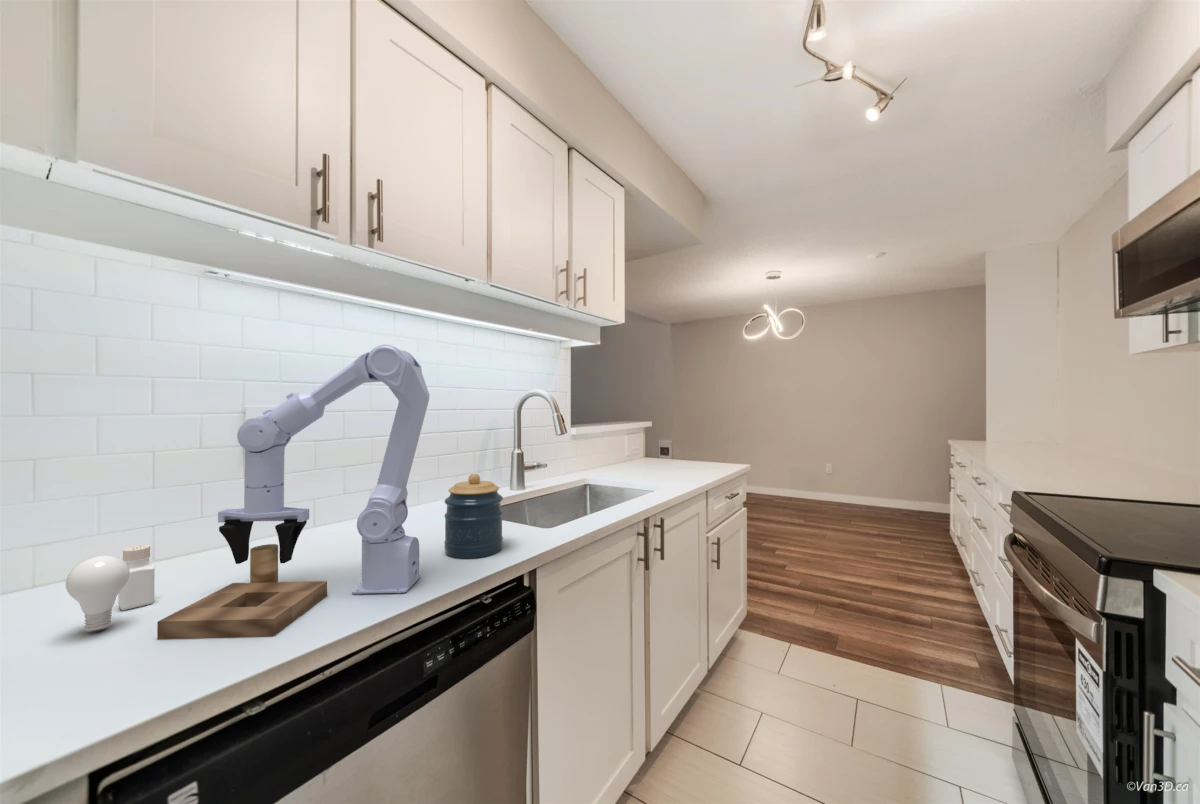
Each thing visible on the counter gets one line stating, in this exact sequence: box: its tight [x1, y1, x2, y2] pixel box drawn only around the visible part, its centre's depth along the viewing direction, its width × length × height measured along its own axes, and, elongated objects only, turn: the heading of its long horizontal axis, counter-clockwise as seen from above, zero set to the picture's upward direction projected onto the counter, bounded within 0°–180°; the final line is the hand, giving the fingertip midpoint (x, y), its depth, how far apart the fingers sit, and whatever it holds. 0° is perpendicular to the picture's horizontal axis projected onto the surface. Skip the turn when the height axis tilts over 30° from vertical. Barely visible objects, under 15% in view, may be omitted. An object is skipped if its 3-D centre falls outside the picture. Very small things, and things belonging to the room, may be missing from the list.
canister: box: [443, 472, 504, 559], centre depth 104 cm, size 13×13×18 cm
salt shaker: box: [117, 544, 156, 611], centre depth 76 cm, size 4×4×10 cm
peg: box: [249, 543, 279, 583], centre depth 81 cm, size 4×4×8 cm
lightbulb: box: [65, 554, 130, 633], centre depth 67 cm, size 6×6×11 cm
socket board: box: [156, 580, 328, 640], centre depth 72 cm, size 16×14×2 cm
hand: (263, 561), depth 81 cm, fingers open, 7 cm apart
